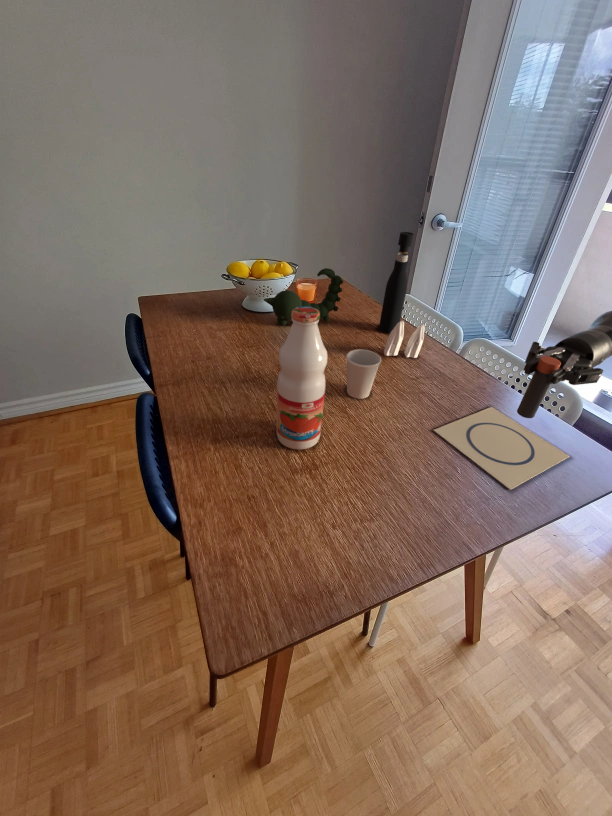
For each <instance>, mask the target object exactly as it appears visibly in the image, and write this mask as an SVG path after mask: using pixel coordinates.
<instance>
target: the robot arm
mask: <svg viewBox="0 0 612 816" xmlns="http://www.w3.org/2000/svg"><path fill="white" fill-rule="evenodd" d="M542 356H549V357H553V358H556V359H558V360H559V361H560V362H561V365H560V367H559V369H557V370H555V371H553V372H551V373H550V374H549V375H548V377H547V379H546V381H545V383H546V384H548V385H550V386H551V385H556V384H558V383H560V382H565V381H567V382H568V384H570V385H571V386H579V385H588V384H596V383H598V382H599V380H600V378H601V376H602V375H603V373H604V369H602V368H601V367H598V366H600V365H601V364H602V363H603V362H605V360H607V359H608V358H610V357H612V310H608V311H606V312H604V313H601V314H600V315H599V316H597V318H595V319H594V320H593V322H592V323H591V324H590V326H589V327H588V329H586V330H583V331H582V330H581V331H579V332H576V333H575V334H573V335H571V336H568V337H566V338H564V339H562V340H560V341H559V342H558V343H556V344H555V345H554V346H553V345H551V346H550V345H549V346H547V347H546V348H545V347H542V346H541V345H540V342H538V341H533V342H532V343H531V346H530V348H529V350H528V353H527V354H526V358H525V360H524V363H525V365H524V368H523V371H524V372H523V373H524V374H525V375H528V376H529V375H531V374H534V372H535V370H536V366H537V364H538V362H539V360H540V358H541V357H542Z"/></svg>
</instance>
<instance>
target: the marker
mask: <svg viewBox="0 0 612 816" xmlns="http://www.w3.org/2000/svg"><path fill="white" fill-rule="evenodd" d="M560 365H561V362H560V361H559V360H558V359H556V358H553V357H549V356H542V357H541V358H540V360H539V362H538V364H537V366H536V370H535V372H533V373H532V374H533V375H532V377H531V379H530V381H529V383H528V386H527V388H526V390H525V392H524V395H523V396H522V399H521V401H520V403H519V405H518V407H517V410H516V413H517V414H518V415H519V416H520V417H522V418H525V419H533V418H535V416H536V414H537V412H538V409H539V408H540V406H541V403H542V402H543V400H544V398H545V395H546V394H547V392H548V389H549V387H550V386H551V384H550V385H548V384H546V383H545V381H546V379H547V377H548V375H549V374H550V373H551V372H553V371H555V370H557V369H559V367H560Z"/></svg>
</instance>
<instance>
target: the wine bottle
mask: <svg viewBox="0 0 612 816" xmlns="http://www.w3.org/2000/svg"><path fill="white" fill-rule="evenodd" d="M413 240H414V233H413V232H409V231H401V232H399V238H398V243H397V245H398V246H399V250H398V253H397V255H396V257H395V258H396V259H395V261H394V265H393V270H392V271H391V273H390V275H389V277H388V279H387V282H386V285H385V291H384V296H383V302H382V308H381V313H380V319H379V324H378V330H379V331H380V332H381V333H383V334H389V335H390V333H391V332H392V330H393V329H394V327H395V326H396V325H397V324H398V322H401V319H402V315H403V310H404V305H405V300H406V296H407V290H408V275H407V270H408V263H409V262H408V260H409V259H408V258H409V254H408V253H409V248H410V247H412V245H413Z"/></svg>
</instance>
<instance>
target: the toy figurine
mask: <svg viewBox="0 0 612 816" xmlns="http://www.w3.org/2000/svg"><path fill="white" fill-rule="evenodd" d="M316 275H317V277H320V276H326V277H327V278H328V279H330V283H329V284H328V288H327V291H326V292H325V295H324V296H325V297H324V298H323V299H322V300H321V302H318V303H316V302H309V301H308V300H305V299H302V298H301V297H300V296H299V294H298V293H296V292H295V291H292V290H289V289H287V290H286V289H285V290H281V291H279V292H278V293H276V295H275V296H273V297H266V298H263V301H264V302H265V303H267V304H269V305H270V306H271V307H272V312H273V313H274V315H275V317H276V321H277V323H278V325H279V326H282V327H283V326H286V325H287V323H288V322H289V321H291V322H292V319H291V318H292V317H291V313H292V310H293V309H294V308H296V307H301V306H307V307H313V308H315V309H317V310H318V311H319V313H320V319H323V321H324V322H326V323H327V322H329V321H330V316H329V314H330V312H332V311H333V312H338V311H339V307H338V305H336V302H338V303H339V302H341V297H340V296H339V293H342V292H343V289H342V288H341V285H343V284H344V280H343V279H342V277H341V276H340V275H337V274H336V272H335V270H333V269H331V268H330V267H329V268H327V267H325V268H322V269H321V270H319V271H318V272H317V274H316ZM320 319H319V320H320ZM317 325H319V322H318V323H317Z"/></svg>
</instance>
